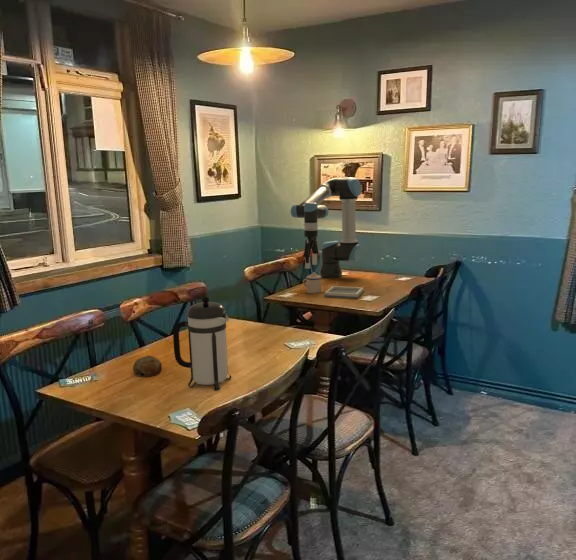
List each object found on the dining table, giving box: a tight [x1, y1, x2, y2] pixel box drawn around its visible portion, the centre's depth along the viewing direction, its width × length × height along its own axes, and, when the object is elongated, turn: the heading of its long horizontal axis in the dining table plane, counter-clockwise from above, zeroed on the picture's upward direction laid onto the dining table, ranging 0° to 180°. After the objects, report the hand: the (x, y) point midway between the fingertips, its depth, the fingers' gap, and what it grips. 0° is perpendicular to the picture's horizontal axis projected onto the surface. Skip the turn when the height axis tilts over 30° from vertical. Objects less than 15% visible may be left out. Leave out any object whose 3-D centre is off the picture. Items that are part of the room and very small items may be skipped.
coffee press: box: [172, 296, 232, 391], centre depth 175 cm, size 17×16×30 cm
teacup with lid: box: [302, 271, 323, 294], centre depth 309 cm, size 12×9×12 cm
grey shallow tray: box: [323, 285, 365, 299], centre depth 301 cm, size 17×19×2 cm
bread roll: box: [132, 355, 162, 378], centre depth 189 cm, size 10×10×8 cm
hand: (311, 266), depth 307 cm, fingers open, 13 cm apart
